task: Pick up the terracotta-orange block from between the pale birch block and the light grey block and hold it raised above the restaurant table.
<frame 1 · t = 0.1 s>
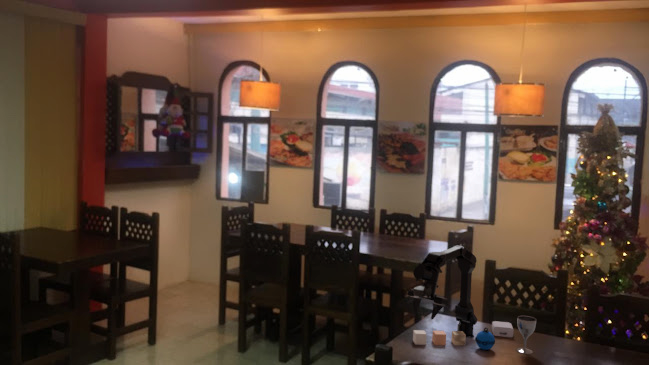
hand: (423, 316, 266), 15 cm above the table, tool pointing down, fingers open, 9 cm apart
terracotta block: (438, 343, 278), on the table
wine glass: (524, 351, 273), on the table
charger: (501, 332, 298), on the table
ornament: (484, 349, 272), on the table
grey block: (419, 342, 277), on the table
birch block: (458, 343, 279), on the table
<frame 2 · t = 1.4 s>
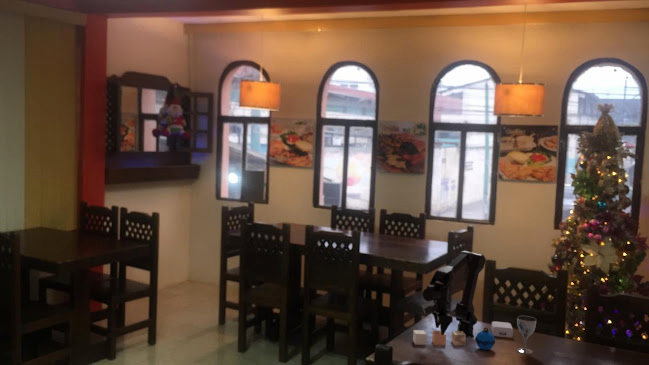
hand: (439, 331, 278), 5 cm above the table, tool pointing down, fingers open, 9 cm apart
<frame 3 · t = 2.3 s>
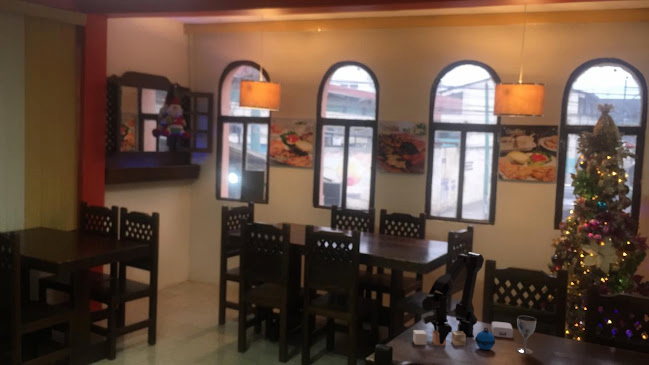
hand: (438, 340, 278), 1 cm above the table, tool pointing down, fingers open, 8 cm apart
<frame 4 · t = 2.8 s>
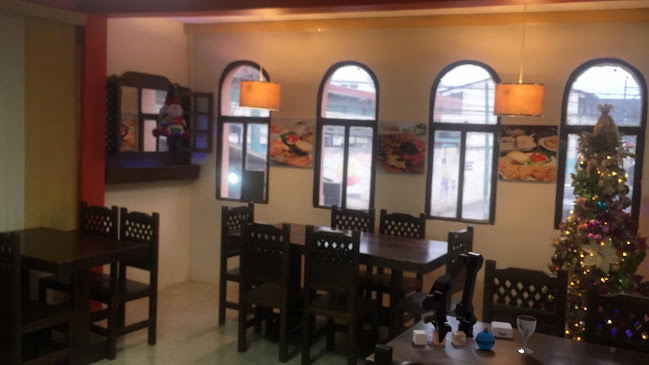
hand: (438, 340, 278), 1 cm above the table, tool pointing down, fingers closed on terracotta block, 5 cm apart
terracotta block: (438, 342, 278), on the table, touching gripper
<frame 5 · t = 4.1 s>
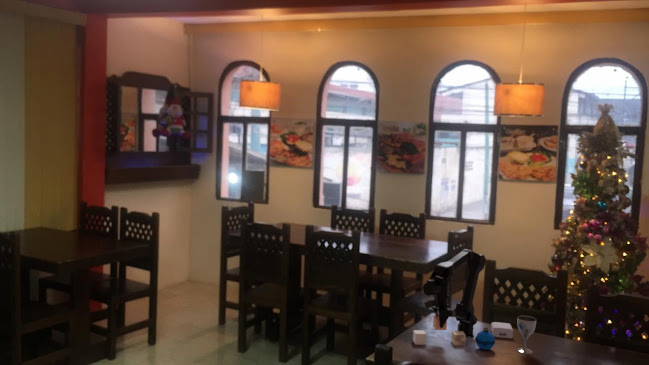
hand: (439, 325, 277), 8 cm above the table, tool pointing down, fingers closed on terracotta block, 5 cm apart
terracotta block: (439, 328, 277), point 7 cm above the table, touching gripper
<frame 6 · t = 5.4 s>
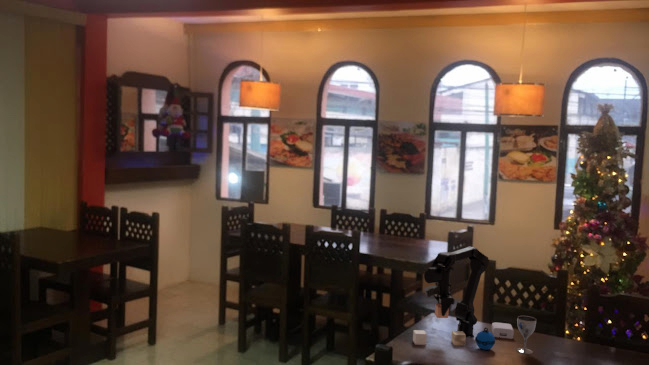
hand: (441, 313, 279), 13 cm above the table, tool pointing down, fingers closed on terracotta block, 5 cm apart
terracotta block: (441, 316, 279), point 12 cm above the table, touching gripper
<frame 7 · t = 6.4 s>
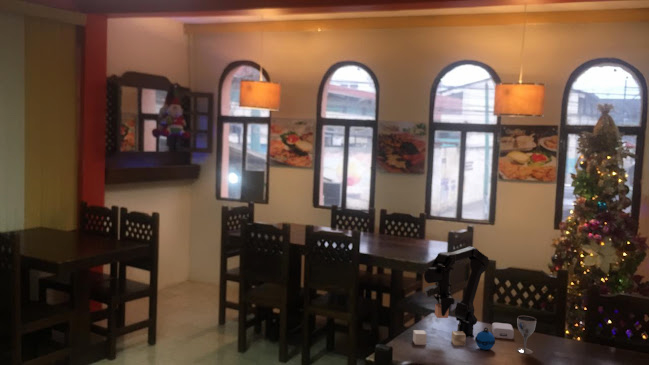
hand: (441, 313, 279), 13 cm above the table, tool pointing down, fingers closed on terracotta block, 5 cm apart
terracotta block: (441, 316, 279), point 12 cm above the table, touching gripper
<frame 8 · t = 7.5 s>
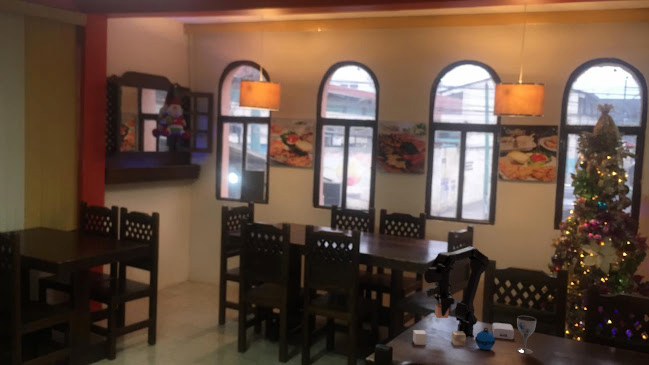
hand: (441, 313, 279), 13 cm above the table, tool pointing down, fingers closed on terracotta block, 5 cm apart
terracotta block: (441, 316, 279), point 12 cm above the table, touching gripper
at the end: terracotta block point 11.9 cm above the table; birch block moved 0.1 cm from its start; grey block moved 0.1 cm from its start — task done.
